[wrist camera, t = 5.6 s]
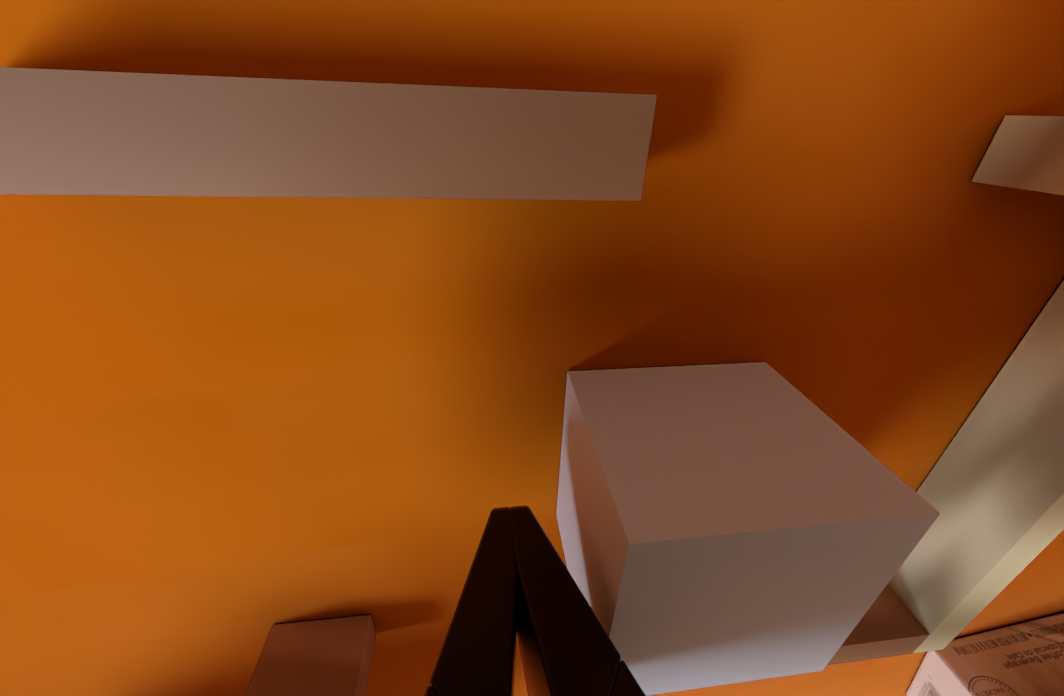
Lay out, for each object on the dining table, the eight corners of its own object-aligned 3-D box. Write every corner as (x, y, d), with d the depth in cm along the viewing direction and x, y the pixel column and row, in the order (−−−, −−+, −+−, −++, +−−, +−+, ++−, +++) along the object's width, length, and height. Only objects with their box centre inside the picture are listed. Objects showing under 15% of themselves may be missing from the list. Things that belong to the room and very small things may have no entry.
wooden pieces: (881, 578, 16) (943, 649, 14) (282, 644, 14) (246, 744, 12) (1220, 123, 9) (1466, 128, 7) (-8, 73, 6) (-276, 55, 4)
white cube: (716, 500, 13) (822, 670, 9) (555, 514, 12) (594, 703, 8) (765, 362, 10) (939, 512, 6) (567, 371, 10) (629, 543, 6)
